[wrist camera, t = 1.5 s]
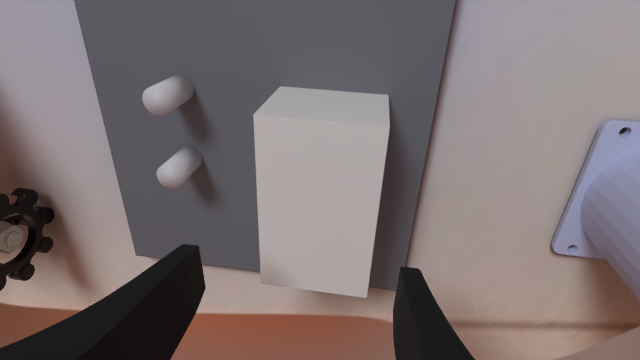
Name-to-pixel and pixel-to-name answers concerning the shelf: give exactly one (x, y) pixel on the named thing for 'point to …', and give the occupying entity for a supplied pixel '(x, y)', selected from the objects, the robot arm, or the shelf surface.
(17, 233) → the valve
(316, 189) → the block
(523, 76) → the shelf surface
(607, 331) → the shelf surface
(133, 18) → the board
